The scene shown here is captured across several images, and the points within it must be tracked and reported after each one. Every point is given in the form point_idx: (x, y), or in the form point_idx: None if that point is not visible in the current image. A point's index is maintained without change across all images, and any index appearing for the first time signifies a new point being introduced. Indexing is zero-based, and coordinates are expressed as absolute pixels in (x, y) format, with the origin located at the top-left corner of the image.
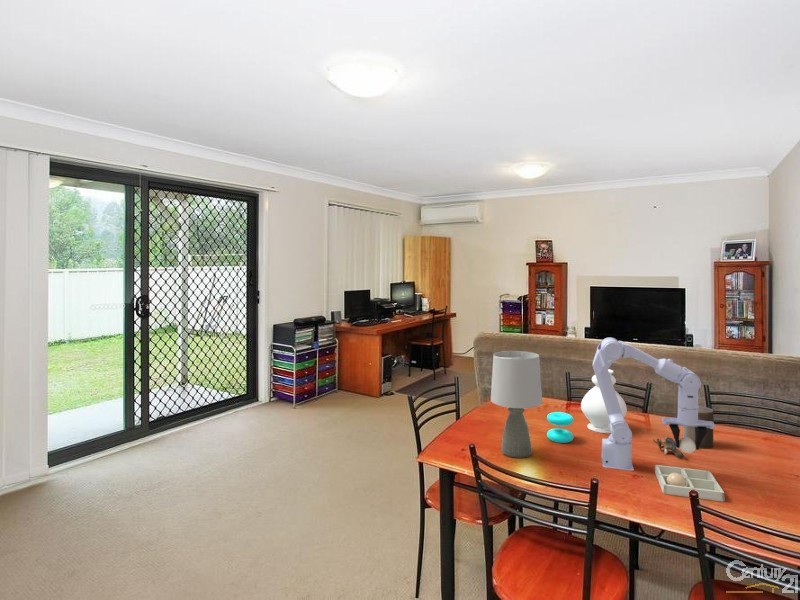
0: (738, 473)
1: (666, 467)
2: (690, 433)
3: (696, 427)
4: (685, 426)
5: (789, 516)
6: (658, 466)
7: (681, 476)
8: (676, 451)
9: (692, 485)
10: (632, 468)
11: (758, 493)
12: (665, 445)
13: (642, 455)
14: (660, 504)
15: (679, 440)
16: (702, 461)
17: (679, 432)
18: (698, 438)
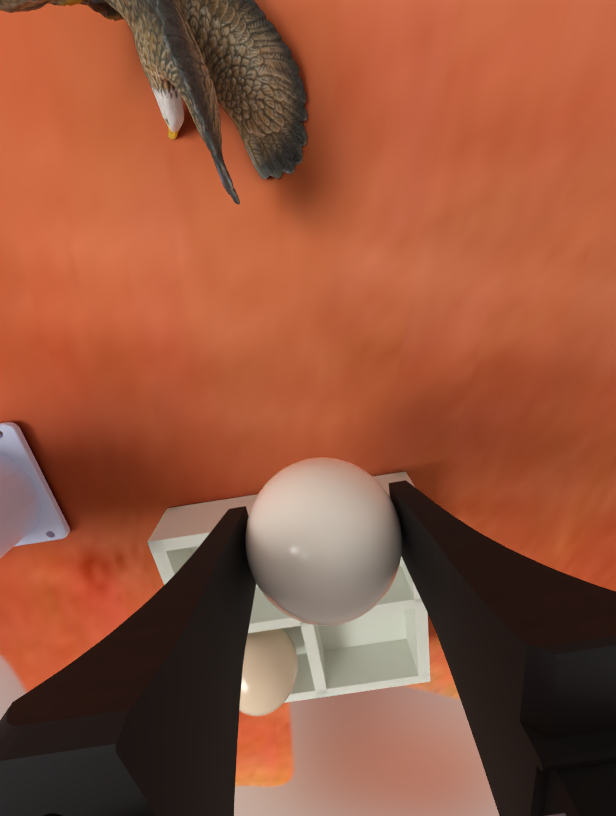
0: (583, 305)
1: None
2: None
3: (531, 773)
4: None
5: None
6: (168, 547)
7: (278, 705)
8: (249, 110)
9: (321, 675)
10: (56, 523)
11: (571, 515)
12: (143, 45)
13: (37, 251)
14: None
15: (251, 565)
16: (423, 173)
17: (232, 793)
18: (451, 660)
